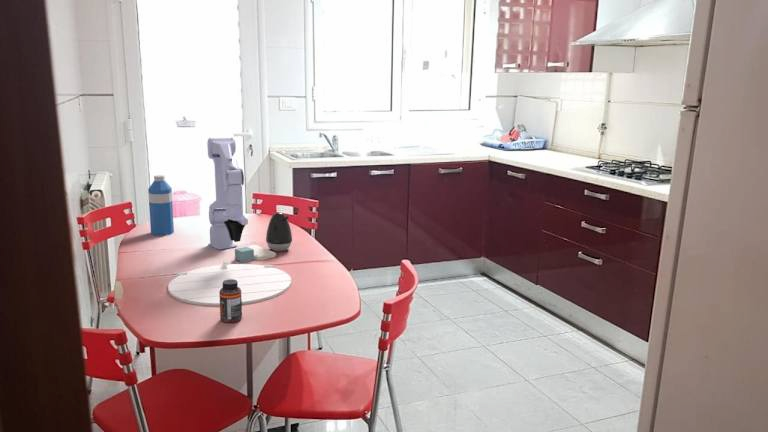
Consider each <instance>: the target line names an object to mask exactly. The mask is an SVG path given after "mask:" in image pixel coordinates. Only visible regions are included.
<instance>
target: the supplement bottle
mask: <svg viewBox="0 0 768 432" xmlns="http://www.w3.org/2000/svg"><path fill="white" fill-rule="evenodd" d="M237 286H238V283H237V280H234V279H228V280H224V281H223V288H222V289H220V292H219V294H220V296H219V297H220V306H219V313H220V314H219V316H220V321H222V322H223V323H226V324H229V323H232V324H234V323H237V322H239V321H241V320H242V318H243V305H242V297H241V289H240V288H239V287H237Z"/></svg>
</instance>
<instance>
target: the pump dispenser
mask: <svg viewBox="0 0 768 432" xmlns="http://www.w3.org/2000/svg"><path fill="white" fill-rule="evenodd" d="M289 219H290V217H289V216H286V215H285V214H284V213H283V212H281V211H277V212H275V213H273V214H272V216H271V218H270V219H269V223H268V224H267V225H268V226H267V229H266V234H265V235H266V237H265V243H266V244H267V246H268V248H269V249H270V251H272V252H284V251H286V250H288V249H289V248H290V247H291V244H292V242H293V233H292V229H291V225H290V222H289Z"/></svg>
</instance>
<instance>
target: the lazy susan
mask: <svg viewBox="0 0 768 432" xmlns="http://www.w3.org/2000/svg"><path fill="white" fill-rule="evenodd" d="M222 262H223V263H222V264H219V265H212V266H206V267H200V268H197V269H193V270H190V271H185V272H178V273H176V275H175V276H176V277H174V278H173V279H172V280H171V281H170V282H169V283H168V288H167V289H168V290H167V291H168V293H169V294H170V296H172V297H173V298H175V300H178V301H181V302H184V303H187V304H193V305H198V306H205V307H206V306H209V307H212V306H213V307H220V297H219V296H220V294H219V292H220V289H222V288H223V281H224V280H228V279H234V280H237V283H238V286H237V287H239V288H240V289H241V297H242V306H243V305H249V304H254V303H259V302H263V301H267V300H270V299H273V298H277V297H278V296H280V295H281V294H282V295H283V294H284V293H285V292H287V291H288V290H289V289H290V288H291V286H292V277H291V276H290V275H289V274H288V273H287V272H286V271H284V270H282V269H279V268H275V267H276V266H275V265H273V264H267V265H266V264H264V265H261V264H260V265H259V264H250V263H241V264H240V263H235V264H234V263H233V264H232V263H231V264H230V262H229V261H227V260H223V261H222ZM288 288H289V289H288ZM287 289H288V290H287ZM286 290H287V291H286ZM284 291H285V292H284Z"/></svg>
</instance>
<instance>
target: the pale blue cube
mask: <svg viewBox="0 0 768 432" xmlns="http://www.w3.org/2000/svg"><path fill="white" fill-rule="evenodd" d="M234 259H235V261H239V262H240V263H244V262H250V261H255V259H254V249H251V248H249V247H246V246H242V248H241V247H237V248H235V249H234Z"/></svg>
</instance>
